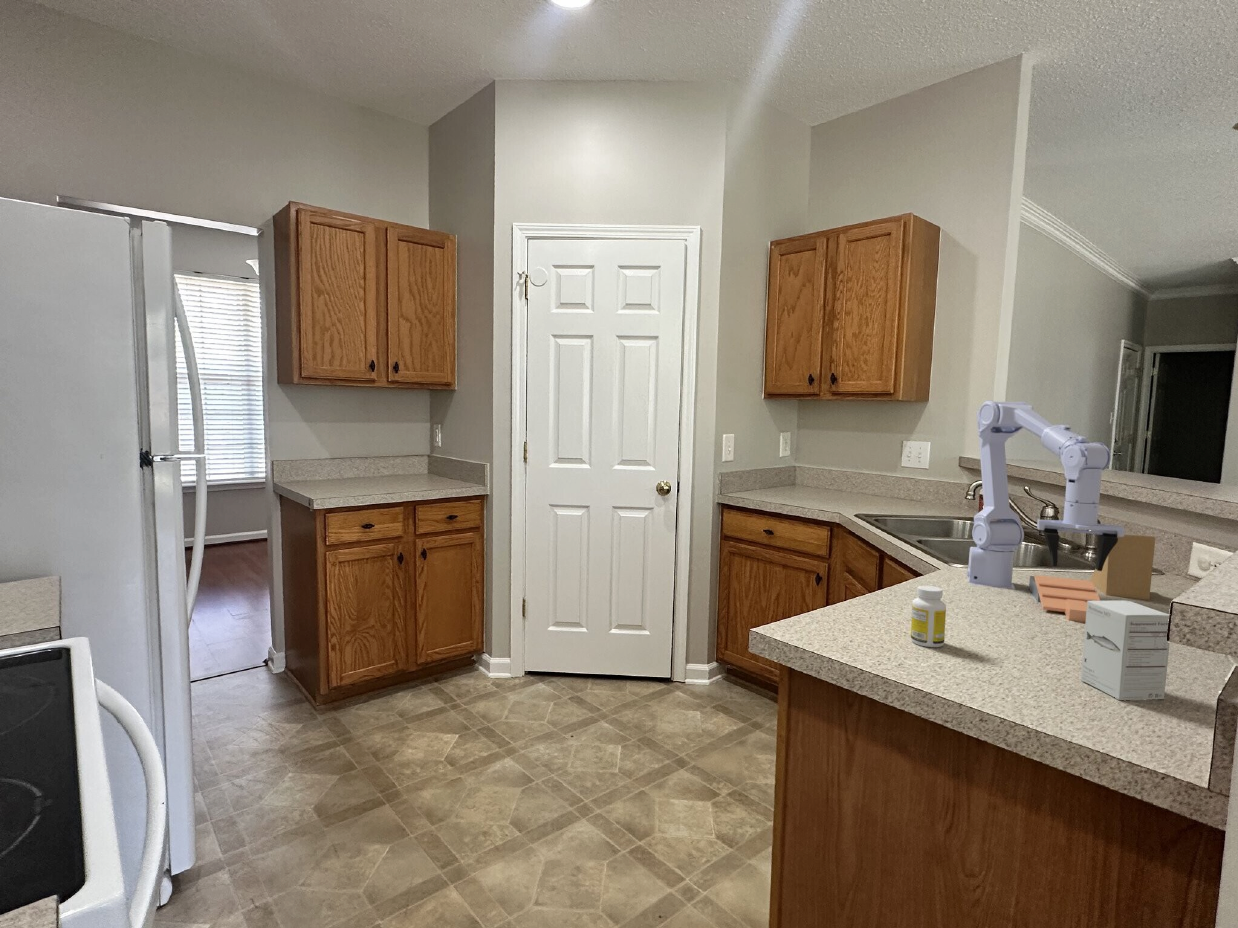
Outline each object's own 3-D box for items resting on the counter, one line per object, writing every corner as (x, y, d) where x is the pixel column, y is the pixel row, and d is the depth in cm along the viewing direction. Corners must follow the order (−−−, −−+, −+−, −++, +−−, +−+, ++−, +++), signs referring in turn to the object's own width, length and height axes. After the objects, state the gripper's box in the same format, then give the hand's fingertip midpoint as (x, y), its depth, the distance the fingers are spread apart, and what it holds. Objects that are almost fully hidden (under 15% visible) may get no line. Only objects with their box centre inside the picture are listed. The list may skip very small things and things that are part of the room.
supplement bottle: (941, 640, 119) (945, 586, 118) (946, 650, 113) (949, 593, 113) (908, 636, 120) (912, 582, 120) (911, 645, 115) (914, 590, 115)
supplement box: (1078, 680, 101) (1084, 599, 100) (1123, 680, 102) (1130, 599, 101) (1118, 701, 94) (1125, 614, 93) (1166, 700, 95) (1174, 614, 94)
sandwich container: (1128, 587, 162) (1134, 526, 161) (1150, 602, 148) (1156, 536, 147) (1086, 582, 165) (1091, 523, 164) (1104, 597, 151) (1109, 532, 150)
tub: (1037, 604, 144) (1038, 588, 143) (1028, 590, 156) (1029, 575, 155) (1093, 611, 140) (1094, 594, 139) (1079, 596, 151) (1081, 581, 151)
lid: (1045, 619, 133) (1047, 606, 132) (1034, 577, 148) (1035, 565, 147) (1110, 627, 128) (1112, 614, 127) (1091, 583, 143) (1093, 571, 142)
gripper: (1042, 501, 135) (1037, 567, 136) (1130, 507, 129) (1124, 576, 130) (1037, 497, 141) (1032, 560, 142) (1121, 503, 135) (1115, 568, 136)
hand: (1076, 567), depth 136 cm, fingers open, 7 cm apart
